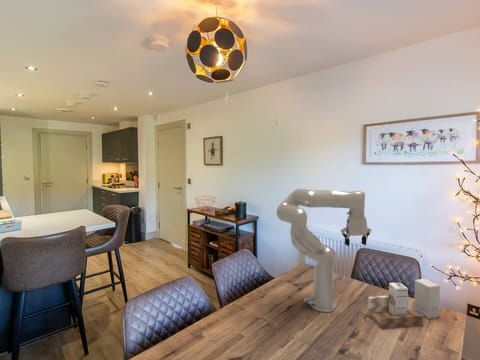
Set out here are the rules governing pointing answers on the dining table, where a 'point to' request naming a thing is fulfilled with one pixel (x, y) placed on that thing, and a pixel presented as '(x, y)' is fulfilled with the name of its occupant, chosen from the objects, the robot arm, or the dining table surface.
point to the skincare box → (427, 298)
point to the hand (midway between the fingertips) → (355, 244)
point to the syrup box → (397, 299)
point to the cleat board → (385, 319)
